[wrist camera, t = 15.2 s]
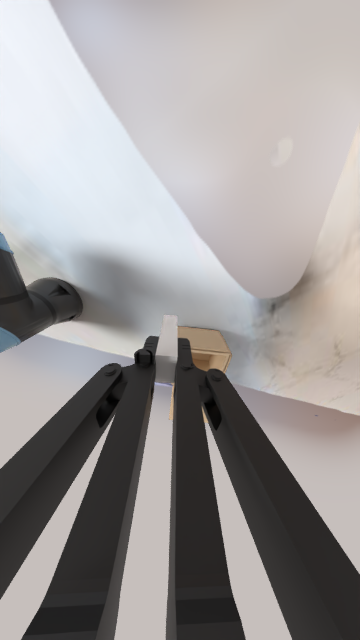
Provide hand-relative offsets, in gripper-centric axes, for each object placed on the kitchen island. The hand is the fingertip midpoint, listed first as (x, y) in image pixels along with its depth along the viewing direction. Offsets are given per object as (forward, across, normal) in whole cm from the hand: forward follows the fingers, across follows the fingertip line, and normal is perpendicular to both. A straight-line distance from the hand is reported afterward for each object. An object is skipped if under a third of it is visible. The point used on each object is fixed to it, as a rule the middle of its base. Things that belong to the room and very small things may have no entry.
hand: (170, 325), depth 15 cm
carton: (+30, +10, -25) cm, 40 cm away
